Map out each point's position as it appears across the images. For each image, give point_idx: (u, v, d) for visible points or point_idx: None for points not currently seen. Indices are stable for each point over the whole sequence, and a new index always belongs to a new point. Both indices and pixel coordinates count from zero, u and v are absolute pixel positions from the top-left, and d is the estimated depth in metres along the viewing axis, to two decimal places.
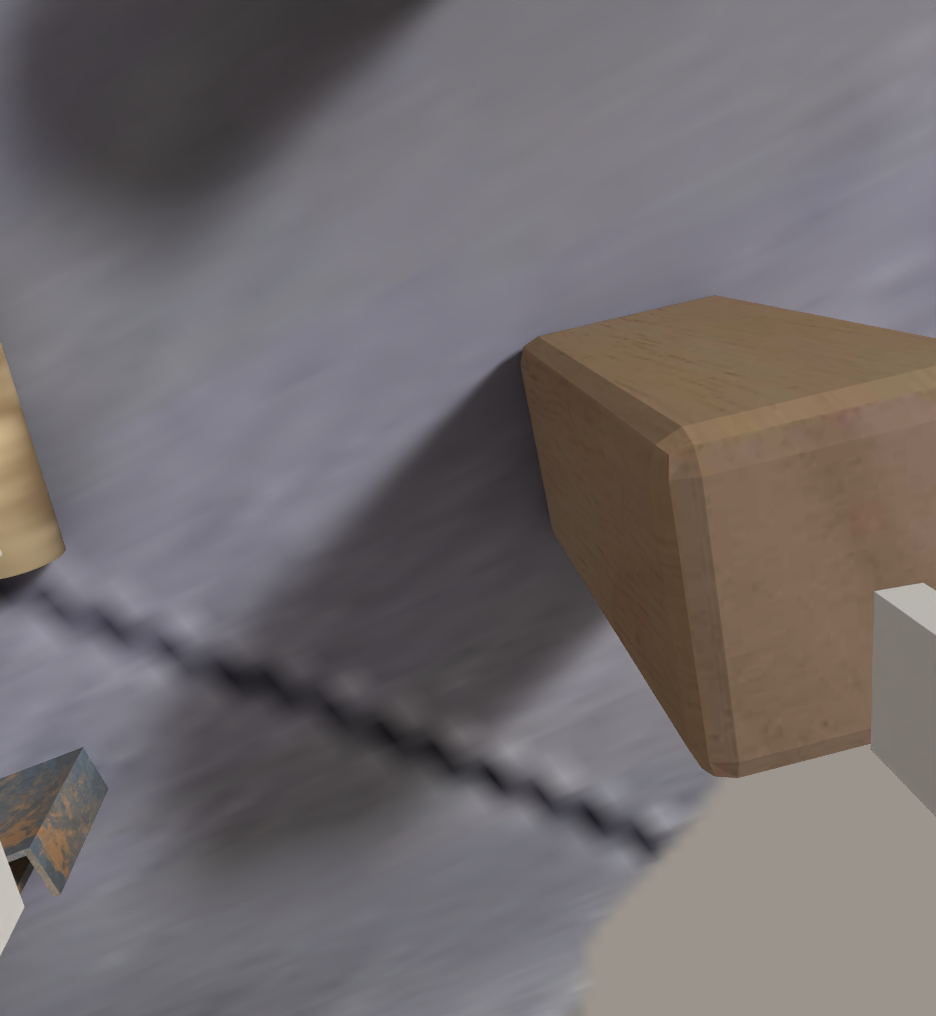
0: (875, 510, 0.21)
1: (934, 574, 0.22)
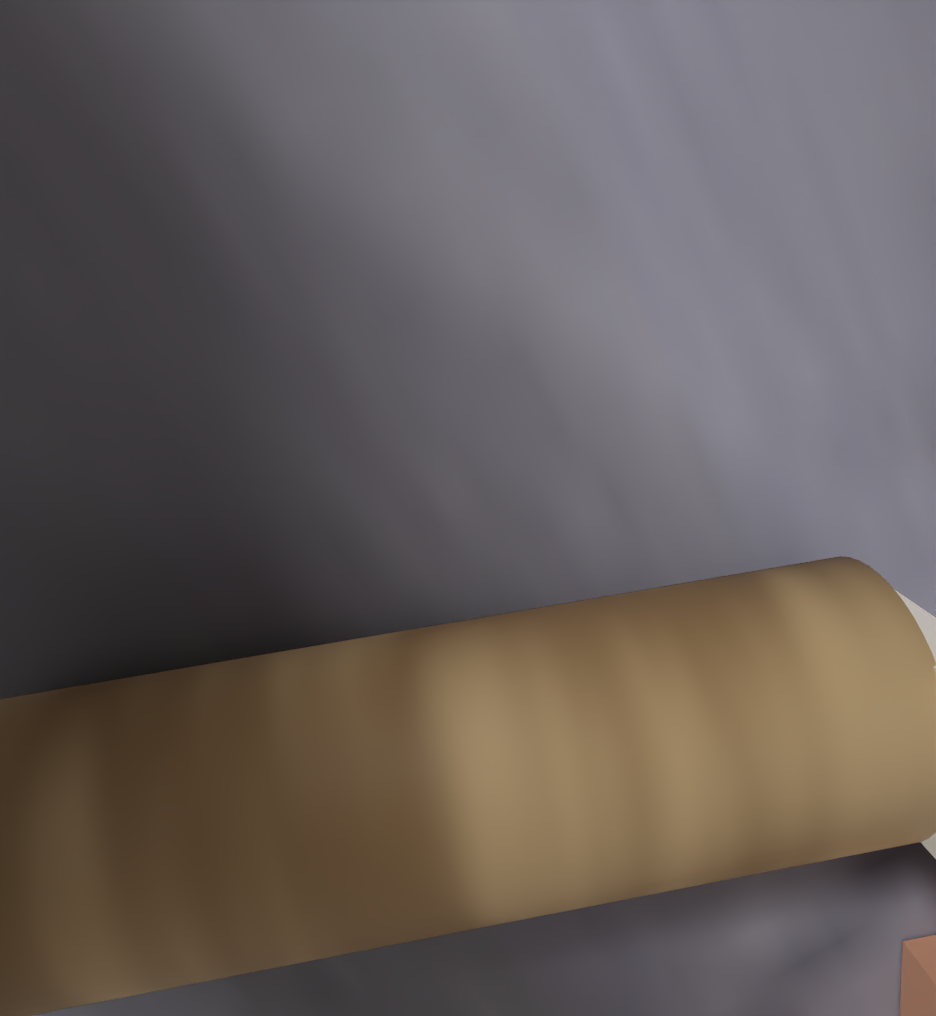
0: None
1: None
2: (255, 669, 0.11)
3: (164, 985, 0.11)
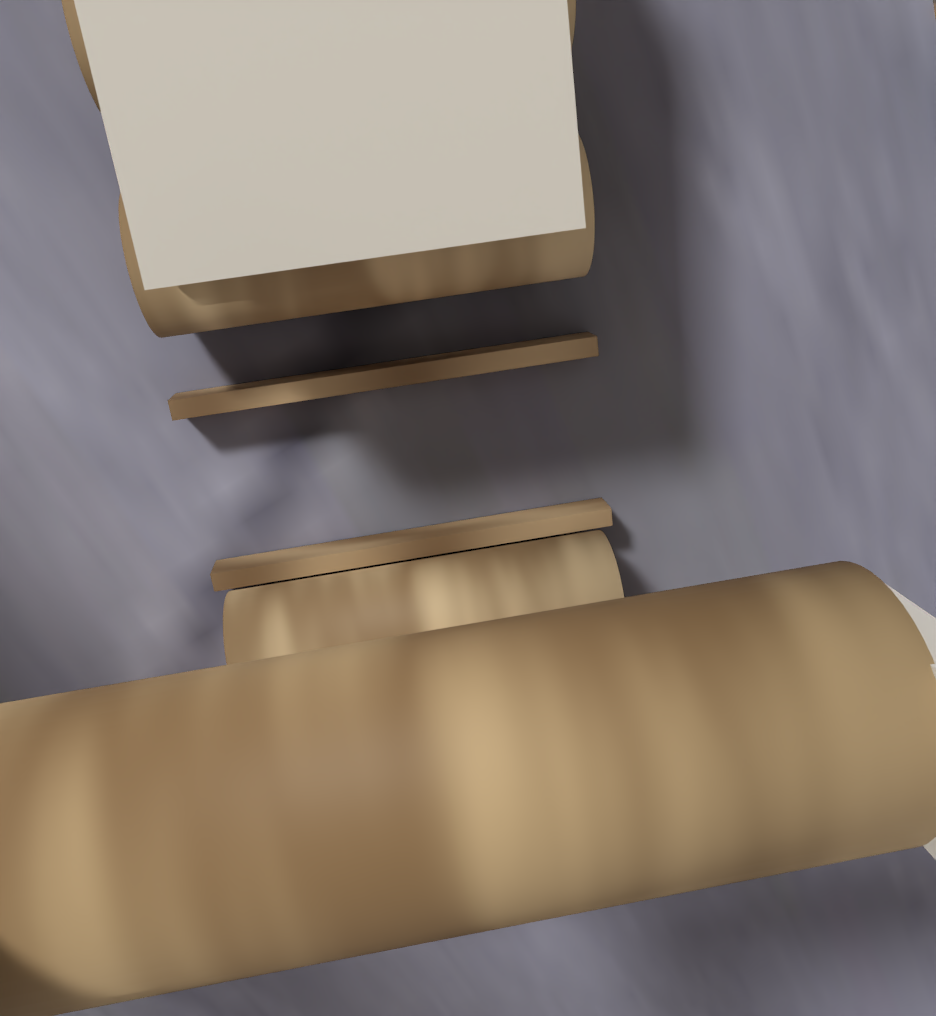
0: None
1: None
2: (256, 673, 0.11)
3: (165, 989, 0.11)
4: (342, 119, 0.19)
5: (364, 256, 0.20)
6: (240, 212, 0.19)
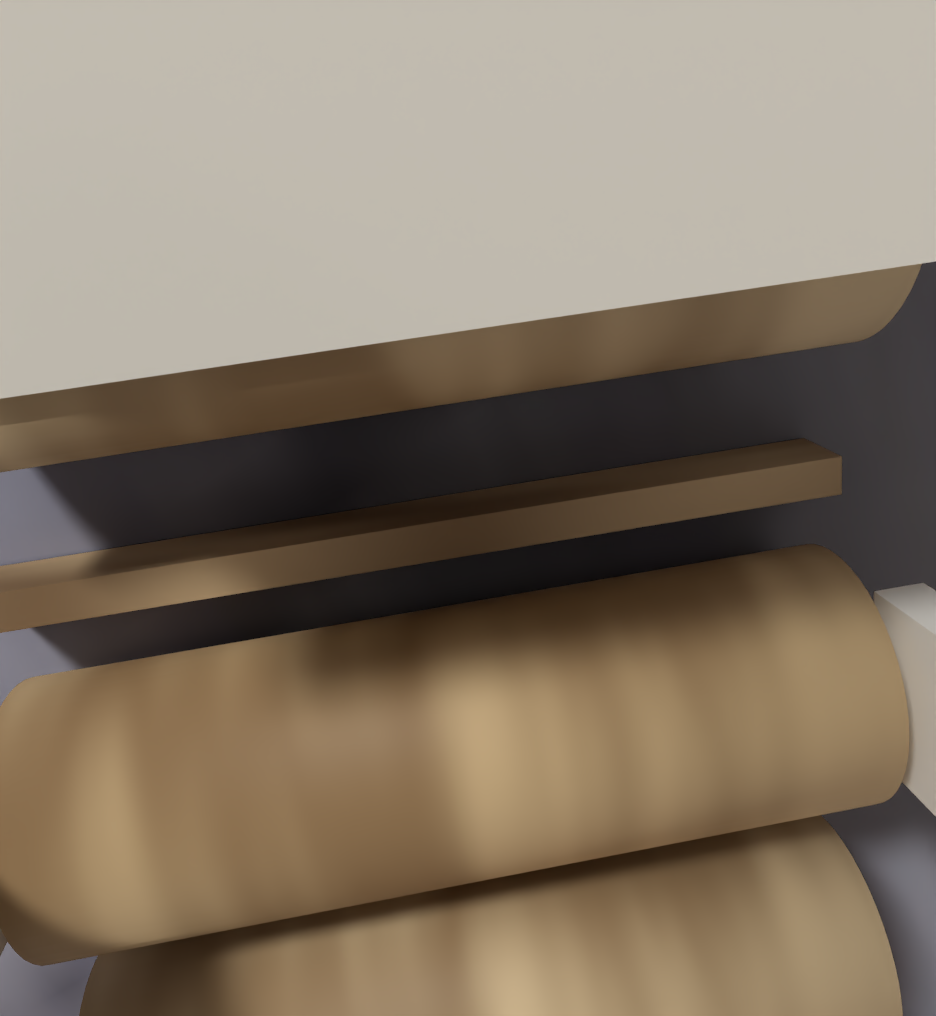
0: None
1: None
2: (271, 654, 0.12)
3: (196, 934, 0.12)
4: None
5: (373, 335, 0.06)
6: None
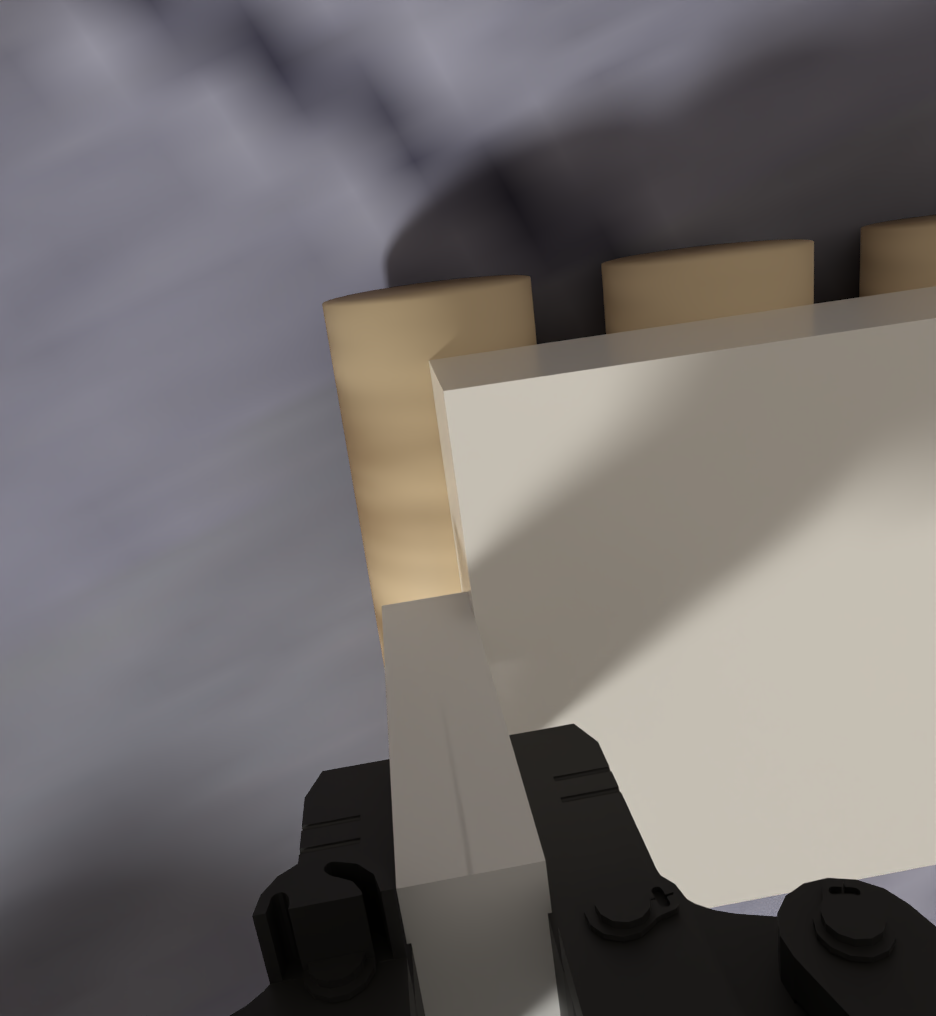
0: None
1: None
2: None
3: None
4: None
5: None
6: None
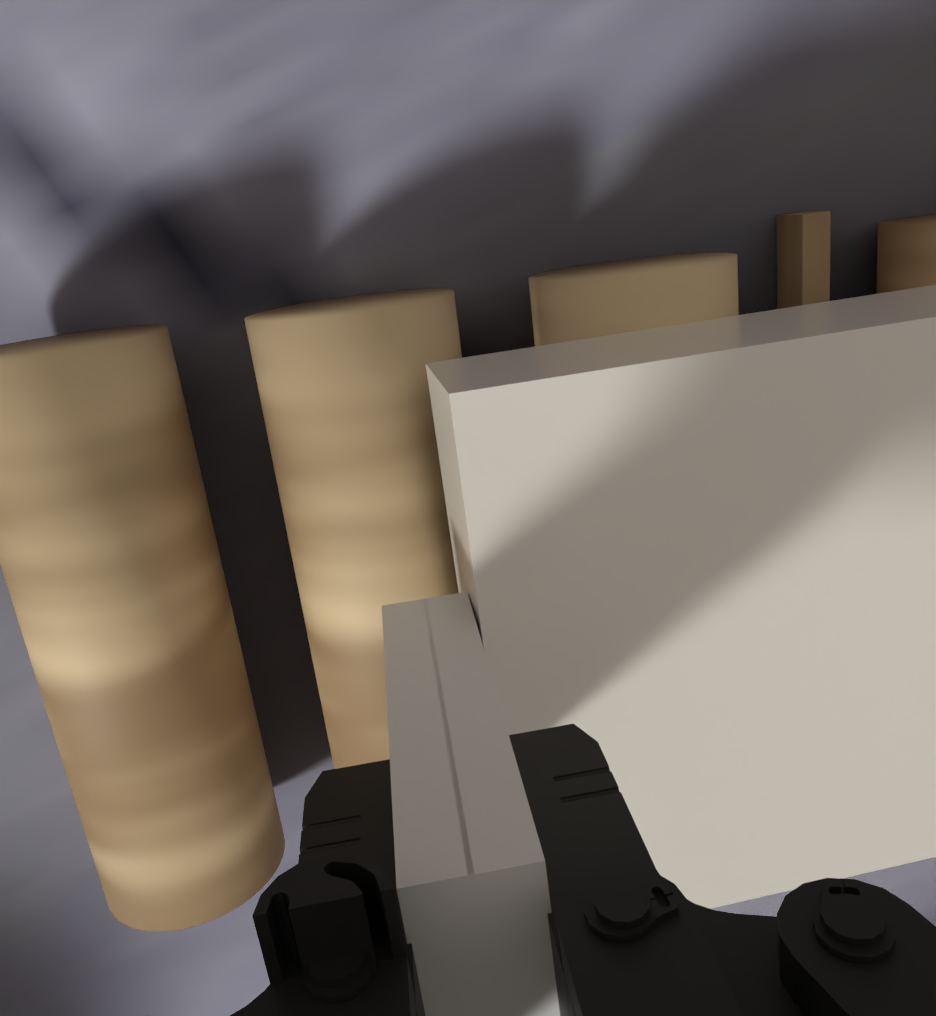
0: None
1: None
2: None
3: None
4: None
5: None
6: None
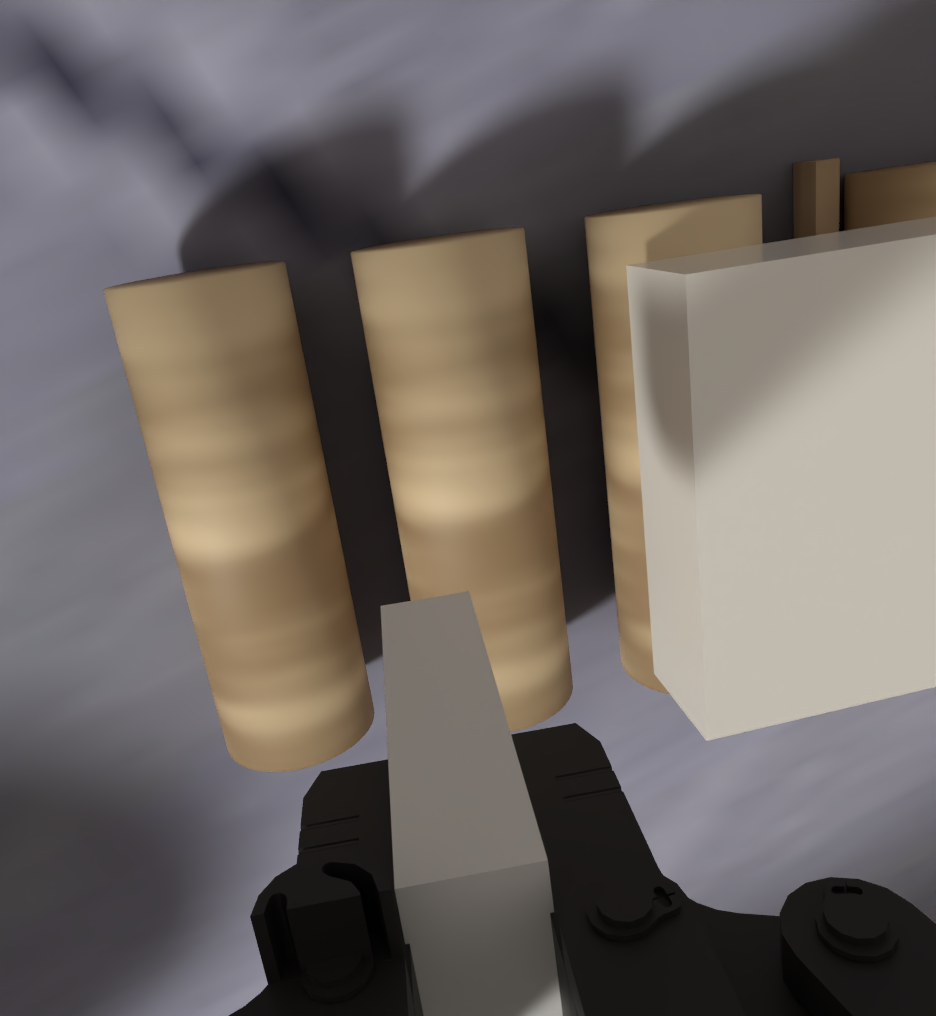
0: None
1: None
2: None
3: None
4: None
5: None
6: None
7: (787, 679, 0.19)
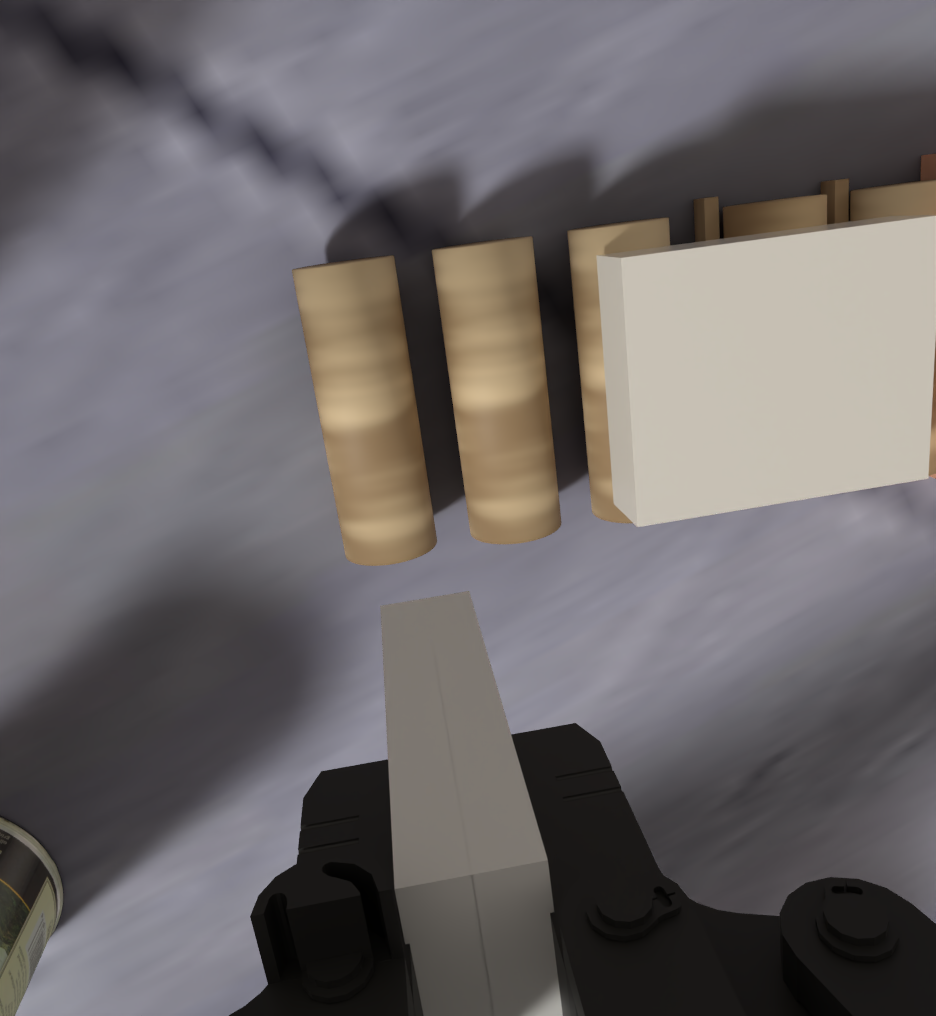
0: None
1: None
2: None
3: None
4: (862, 366, 0.33)
5: (933, 355, 0.33)
6: (899, 424, 0.34)
7: (684, 492, 0.33)
